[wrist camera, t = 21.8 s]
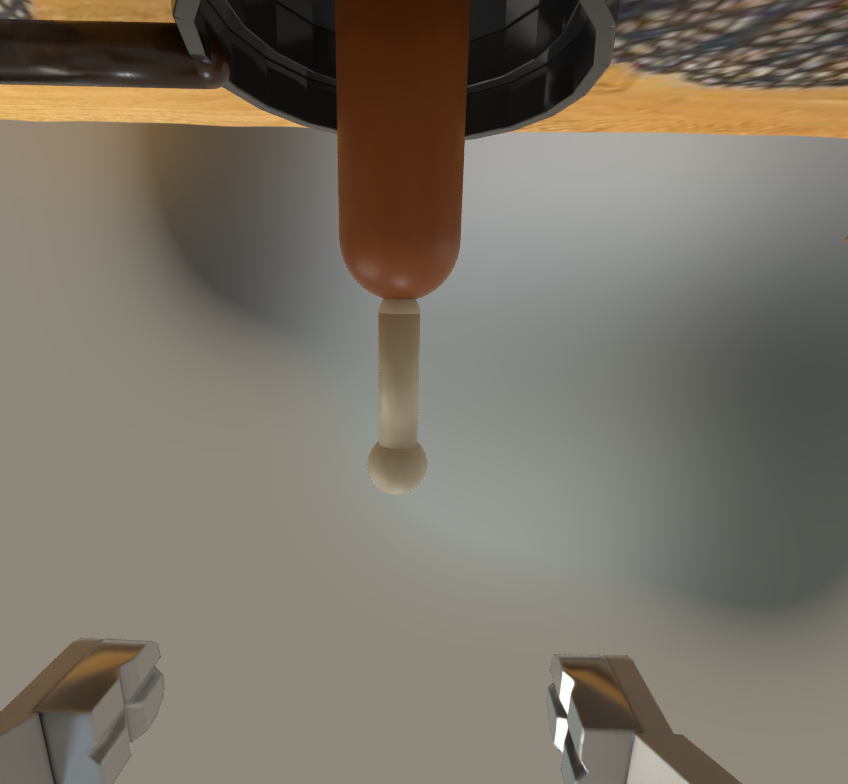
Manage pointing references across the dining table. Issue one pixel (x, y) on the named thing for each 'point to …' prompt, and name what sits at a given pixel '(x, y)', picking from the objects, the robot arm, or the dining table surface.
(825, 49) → the dining table surface
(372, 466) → the drumstick
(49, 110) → the dining table surface
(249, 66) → the pan
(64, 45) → the pan handle
